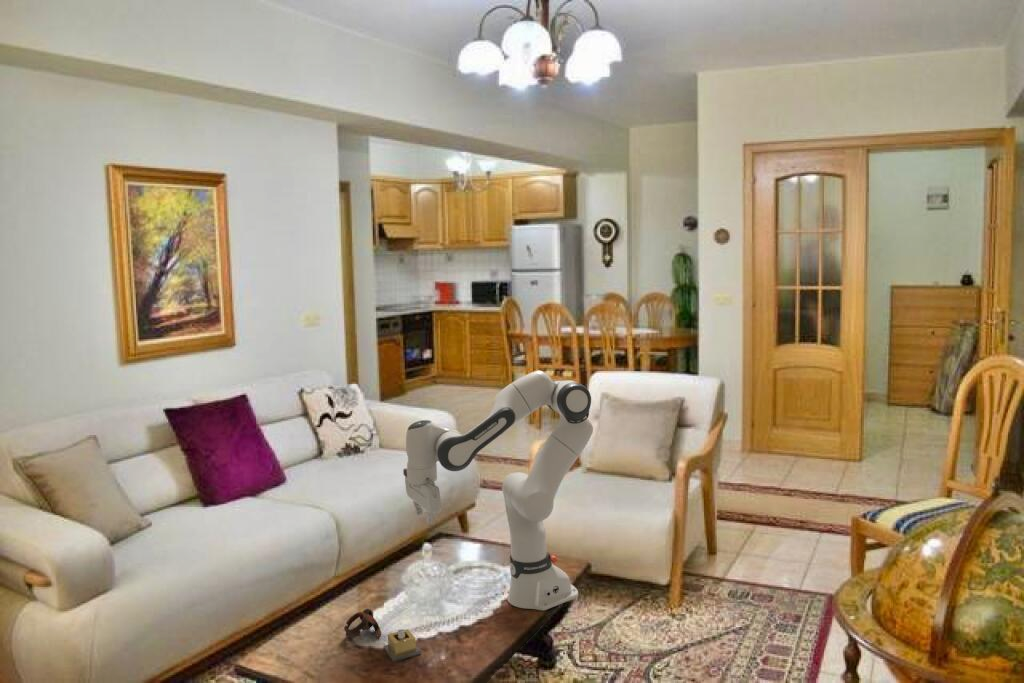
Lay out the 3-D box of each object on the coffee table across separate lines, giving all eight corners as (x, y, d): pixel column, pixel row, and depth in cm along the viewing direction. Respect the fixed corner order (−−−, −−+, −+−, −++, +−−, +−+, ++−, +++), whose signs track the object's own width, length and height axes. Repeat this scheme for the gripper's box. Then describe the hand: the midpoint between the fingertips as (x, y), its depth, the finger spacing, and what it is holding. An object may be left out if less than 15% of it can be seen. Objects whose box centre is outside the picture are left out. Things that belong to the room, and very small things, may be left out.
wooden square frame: (408, 640, 232) (407, 629, 232) (416, 650, 227) (415, 638, 226) (388, 646, 230) (387, 634, 229) (395, 655, 224) (394, 643, 224)
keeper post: (410, 641, 234) (409, 621, 233) (421, 654, 227) (420, 633, 226) (383, 649, 230) (382, 628, 229) (393, 661, 223) (392, 641, 222)
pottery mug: (381, 645, 233) (365, 625, 230) (353, 658, 235) (337, 638, 232) (387, 616, 244) (372, 596, 242) (360, 628, 246) (345, 609, 243)
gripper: (445, 481, 240) (447, 527, 242) (420, 465, 258) (422, 507, 260) (425, 485, 237) (427, 531, 239) (401, 468, 255) (403, 511, 257)
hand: (424, 518), depth 249 cm, fingers open, 8 cm apart
